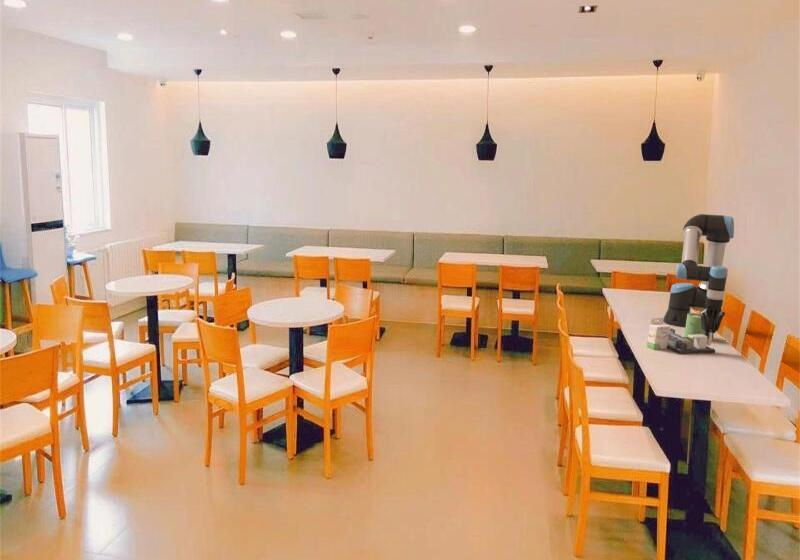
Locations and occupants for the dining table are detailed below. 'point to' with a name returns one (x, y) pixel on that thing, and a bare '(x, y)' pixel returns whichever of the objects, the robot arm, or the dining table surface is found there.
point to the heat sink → (675, 341)
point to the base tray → (682, 351)
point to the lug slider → (699, 341)
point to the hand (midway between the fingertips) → (707, 344)
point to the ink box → (658, 334)
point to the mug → (693, 325)
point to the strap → (680, 338)
